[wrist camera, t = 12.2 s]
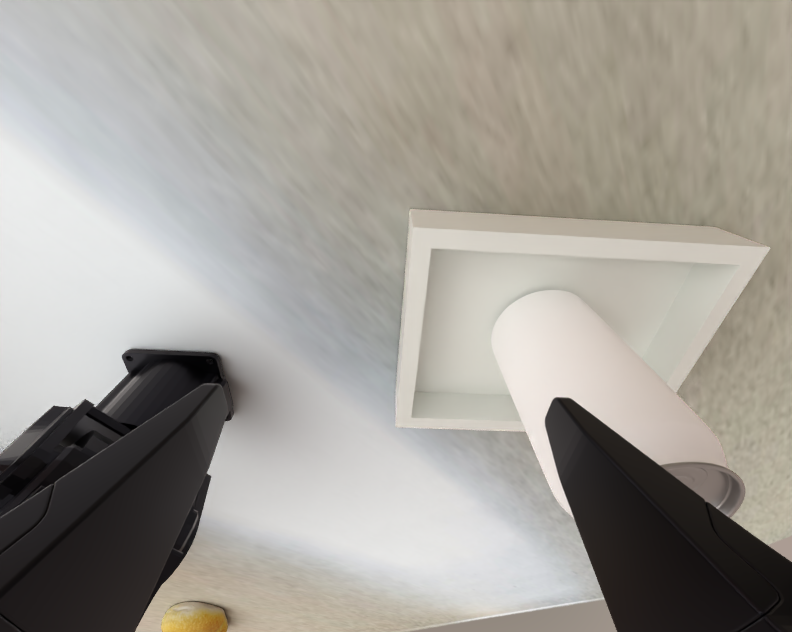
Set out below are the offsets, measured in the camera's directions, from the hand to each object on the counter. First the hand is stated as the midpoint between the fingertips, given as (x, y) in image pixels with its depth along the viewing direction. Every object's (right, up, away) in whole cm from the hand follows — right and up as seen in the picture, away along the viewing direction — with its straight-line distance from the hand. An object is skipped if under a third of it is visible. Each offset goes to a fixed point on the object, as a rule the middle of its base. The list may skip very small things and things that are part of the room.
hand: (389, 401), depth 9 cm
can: (+10, +2, +13) cm, 17 cm away
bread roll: (-27, -39, +39) cm, 62 cm away
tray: (+10, +2, +14) cm, 17 cm away
